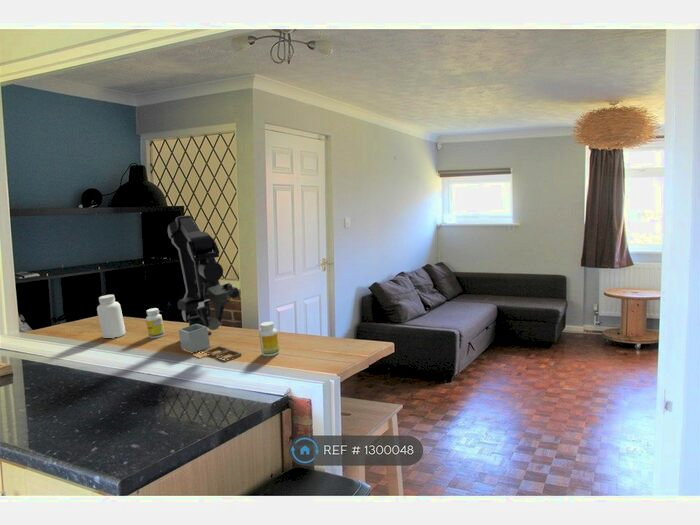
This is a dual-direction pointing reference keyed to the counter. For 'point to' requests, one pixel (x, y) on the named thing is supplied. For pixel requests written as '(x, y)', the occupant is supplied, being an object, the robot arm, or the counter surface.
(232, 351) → the holder
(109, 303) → the pill bottle
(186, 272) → the robot arm
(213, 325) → the gray ball
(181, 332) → the grey open box
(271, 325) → the supplement bottle
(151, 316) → the supplement bottle
